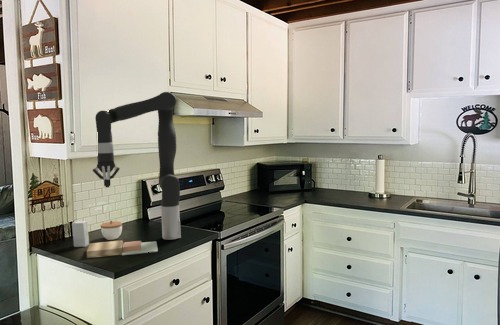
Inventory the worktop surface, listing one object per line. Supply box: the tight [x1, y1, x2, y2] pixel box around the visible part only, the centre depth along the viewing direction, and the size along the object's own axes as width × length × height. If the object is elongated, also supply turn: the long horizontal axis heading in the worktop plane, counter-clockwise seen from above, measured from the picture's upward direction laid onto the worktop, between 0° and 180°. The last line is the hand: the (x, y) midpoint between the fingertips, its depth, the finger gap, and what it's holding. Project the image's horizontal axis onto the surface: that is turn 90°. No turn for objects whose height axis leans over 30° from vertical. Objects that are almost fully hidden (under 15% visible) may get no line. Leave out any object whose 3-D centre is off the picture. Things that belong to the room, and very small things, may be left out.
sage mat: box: [121, 241, 159, 256], centre depth 189 cm, size 16×16×1 cm
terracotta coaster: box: [123, 240, 142, 252], centre depth 188 cm, size 8×8×2 cm
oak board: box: [86, 239, 124, 259], centre depth 185 cm, size 15×13×3 cm
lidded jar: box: [100, 220, 123, 241], centre depth 208 cm, size 11×11×9 cm
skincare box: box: [71, 220, 90, 248], centre depth 195 cm, size 6×4×12 cm
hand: (107, 187), depth 194 cm, fingers closed
